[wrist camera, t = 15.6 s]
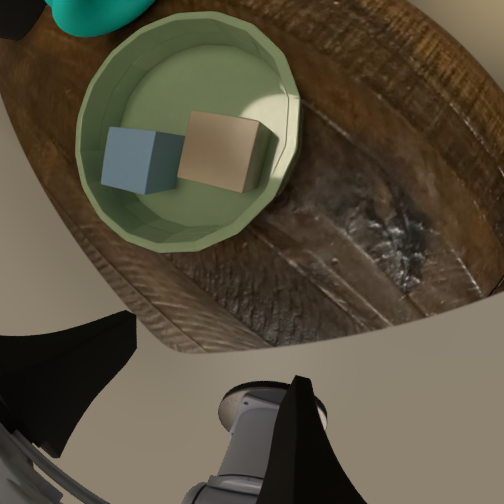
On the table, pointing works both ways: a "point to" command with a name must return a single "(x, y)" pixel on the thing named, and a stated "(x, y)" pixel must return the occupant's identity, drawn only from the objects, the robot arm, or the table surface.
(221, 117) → the brown block
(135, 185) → the blue block
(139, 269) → the table surface
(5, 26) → the vase
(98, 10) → the donuts
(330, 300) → the table surface
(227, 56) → the green shallow bowl
